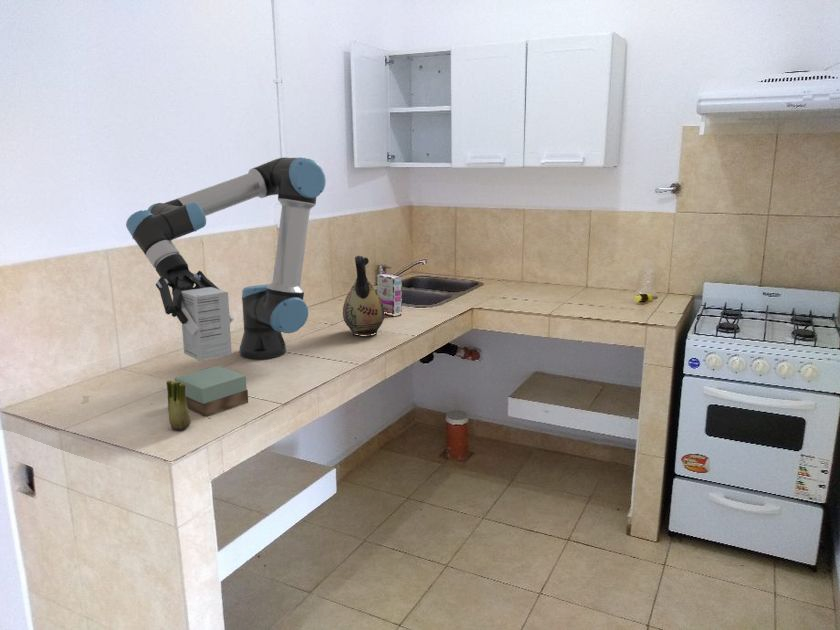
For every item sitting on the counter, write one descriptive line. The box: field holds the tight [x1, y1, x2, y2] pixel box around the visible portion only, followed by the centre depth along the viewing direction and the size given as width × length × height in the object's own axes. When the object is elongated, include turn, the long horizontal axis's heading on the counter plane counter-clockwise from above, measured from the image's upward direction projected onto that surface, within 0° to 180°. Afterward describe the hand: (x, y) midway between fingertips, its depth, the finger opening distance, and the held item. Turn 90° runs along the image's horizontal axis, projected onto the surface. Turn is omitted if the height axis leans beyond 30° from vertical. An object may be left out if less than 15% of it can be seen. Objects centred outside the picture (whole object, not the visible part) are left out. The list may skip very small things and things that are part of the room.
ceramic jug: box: [342, 255, 385, 336], centre depth 238 cm, size 17×15×30 cm
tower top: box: [174, 365, 247, 404], centre depth 172 cm, size 13×13×4 cm
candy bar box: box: [376, 273, 403, 314], centre depth 271 cm, size 11×5×16 cm, turn 43°
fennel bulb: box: [166, 380, 192, 431], centre depth 156 cm, size 6×5×12 cm
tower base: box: [186, 389, 249, 418], centre depth 173 cm, size 13×13×4 cm
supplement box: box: [181, 287, 233, 361], centre depth 168 cm, size 10×9×17 cm
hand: (213, 327), depth 167 cm, fingers closed on supplement box, 11 cm apart
